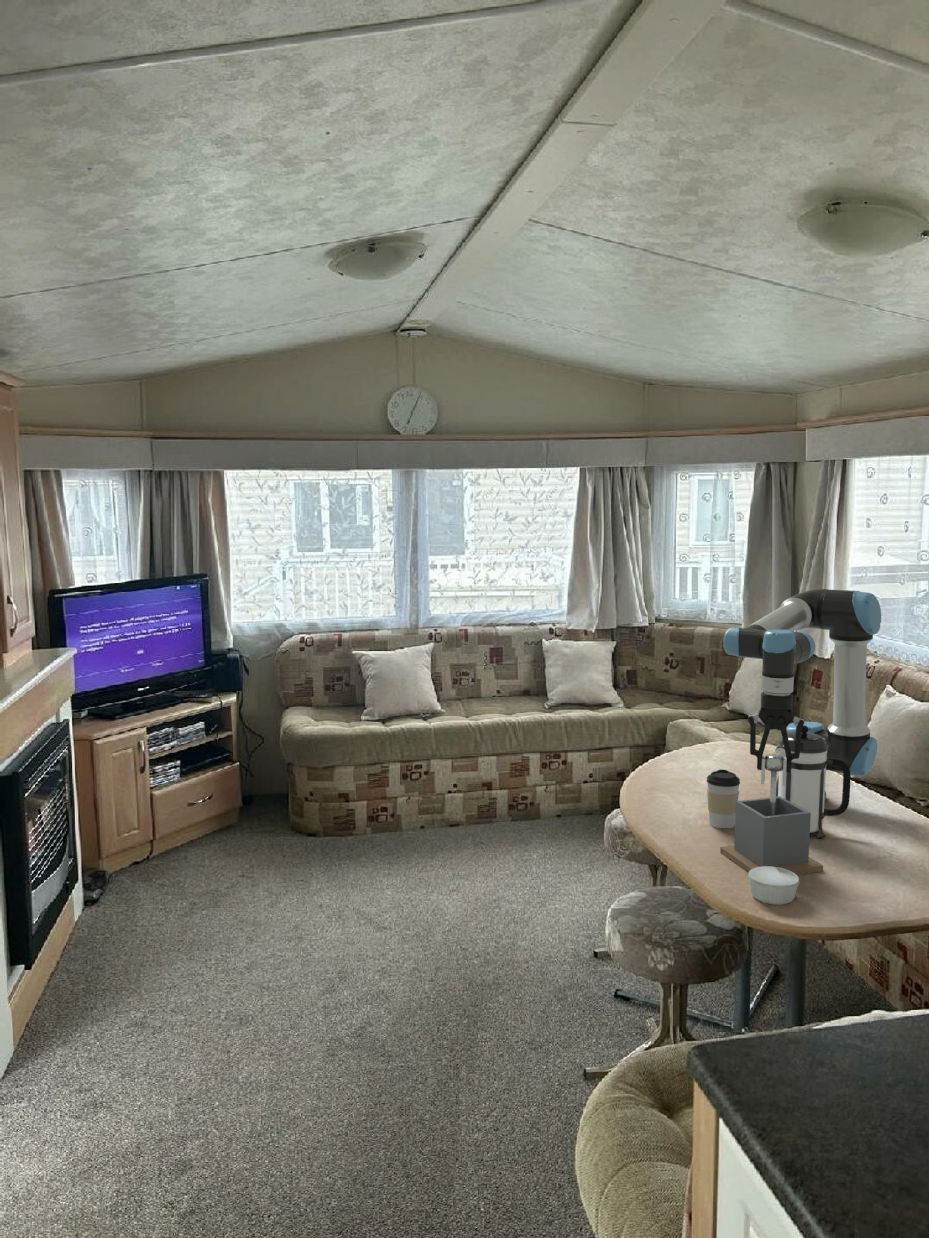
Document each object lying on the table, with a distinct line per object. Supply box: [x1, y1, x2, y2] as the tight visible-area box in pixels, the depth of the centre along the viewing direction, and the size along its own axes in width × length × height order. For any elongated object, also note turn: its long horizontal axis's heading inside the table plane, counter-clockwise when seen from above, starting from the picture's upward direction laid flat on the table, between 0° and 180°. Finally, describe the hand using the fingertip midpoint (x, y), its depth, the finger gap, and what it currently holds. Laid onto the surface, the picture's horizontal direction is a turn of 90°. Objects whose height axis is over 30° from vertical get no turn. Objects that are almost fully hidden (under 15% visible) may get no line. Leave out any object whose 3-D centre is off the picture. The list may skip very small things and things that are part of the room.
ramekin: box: [747, 866, 800, 906], centre depth 224 cm, size 11×11×5 cm
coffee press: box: [772, 725, 851, 840], centre depth 263 cm, size 17×16×30 cm
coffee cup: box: [706, 769, 741, 829], centre depth 270 cm, size 9×9×15 cm
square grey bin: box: [719, 796, 824, 876], centre depth 243 cm, size 18×18×14 cm
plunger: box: [764, 753, 784, 816], centre depth 242 cm, size 10×10×22 cm
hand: (773, 783), depth 241 cm, fingers closed on plunger, 4 cm apart
